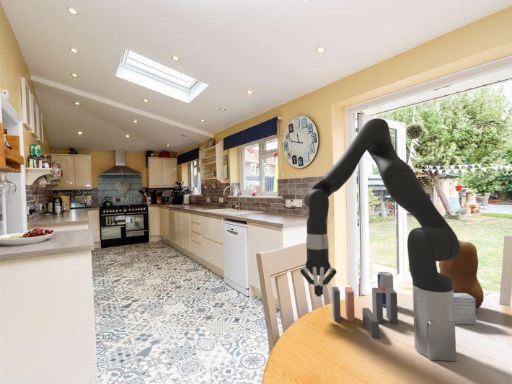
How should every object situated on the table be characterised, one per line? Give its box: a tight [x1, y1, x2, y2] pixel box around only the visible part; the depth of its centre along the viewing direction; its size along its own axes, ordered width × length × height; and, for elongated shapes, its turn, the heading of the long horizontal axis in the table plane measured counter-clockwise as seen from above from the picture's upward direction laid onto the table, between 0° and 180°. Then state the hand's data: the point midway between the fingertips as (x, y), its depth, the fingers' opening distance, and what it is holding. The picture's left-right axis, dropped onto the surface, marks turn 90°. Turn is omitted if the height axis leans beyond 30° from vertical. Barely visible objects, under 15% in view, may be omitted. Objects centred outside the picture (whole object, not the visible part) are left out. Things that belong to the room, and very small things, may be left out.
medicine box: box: [453, 293, 477, 325], centre depth 91 cm, size 8×4×9 cm, turn 84°
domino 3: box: [361, 307, 380, 339], centre depth 87 cm, size 5×2×10 cm
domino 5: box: [385, 288, 399, 325], centre depth 93 cm, size 5×2×10 cm, turn 172°
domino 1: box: [331, 286, 342, 323], centre depth 96 cm, size 5×2×10 cm, turn 172°
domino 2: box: [344, 286, 356, 323], centre depth 95 cm, size 5×2×10 cm, turn 172°
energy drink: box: [377, 271, 394, 308], centre depth 106 cm, size 5×5×12 cm
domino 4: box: [371, 287, 384, 324], centre depth 94 cm, size 5×2×10 cm, turn 172°
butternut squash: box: [438, 239, 485, 310], centre depth 101 cm, size 14×13×25 cm
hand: (318, 295), depth 97 cm, fingers closed
